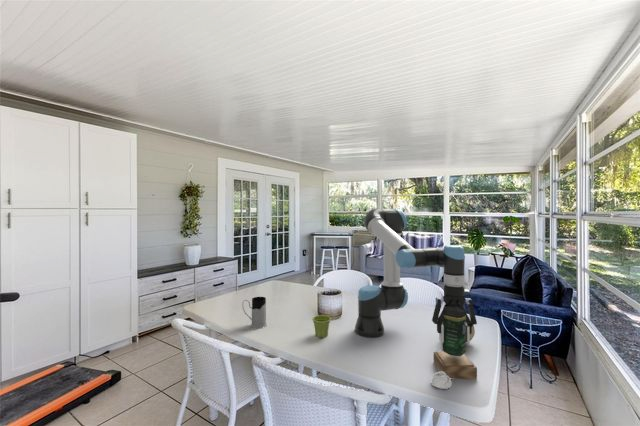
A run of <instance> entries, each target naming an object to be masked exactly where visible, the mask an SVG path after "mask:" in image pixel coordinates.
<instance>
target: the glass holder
mask: <svg viewBox="0 0 640 426" xmlns="http://www.w3.org/2000/svg"><path fill="white" fill-rule="evenodd" d="M266 301H267V298H266V297H265V296H255V297H252V298H251V303H250V300H248V299H244V300H243V301H242V304H241V306H242V310H243V312H244V314H245V315H246V316H247V317H248V318H249V319H250V320H251V325H250V327H251V328H252V329H255V328H260V329H264V328H266V327H267V325H268V324H267V303H266ZM244 302H248V307H249V309H251V316H250V315H248V313H247V312H246V310H245V307H244ZM263 327H264V328H263Z"/></svg>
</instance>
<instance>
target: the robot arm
mask: <svg viewBox="0 0 640 426" xmlns="http://www.w3.org/2000/svg"><path fill="white" fill-rule="evenodd" d="M363 225H364V228H365V229H366V230H367V231H368V232H369V233H370V234H371V235H374V236H375V237H376V238H378V240H379V241H380V242H381V243H382V244H383V250H382V251H383V252H382V253H383V281H381V283H380V286H379V285H376V284H373V285H372V284H370V285H364V286H362V287H360V289H359V290H358V295H357V300H358V301H357V302H358V304H357V306H358V307H357V308H358V309H357V311H358V312H357V313H358V314H357V315H358V317H357V319H356V323H355V326H354V331H355V332H354V333H356V334H357V335H359V336H361V337H366V338H377V337H382V336H383V335H384V334H385V327H384V324H383V320H382V317H381V314H382V313H381V312H382V311H390V310H399V309H403V308H404V307H405V306H406V305H407V304H408V300H409V294H408V293H409V292H407V291H408V290H407V288H406V287H405V286H404V284H403V282H402V281H401V269H403V268H404V269H406V268H407V269H411V268H424V267H440V268H443V284H444V285H443V297H435V306H434V309H433V314H432V319H431V321H432V322H433V324H435V325H436V332H437V333H438V334H439V335H438V339H439V341H440V342H441V343H442V344H443V343H444V326H443V325H442V323H443V321H444V314H443V309H442V308H441V307H442V304H443V302H444V305H443V308H444V307H446V306H448V307H451V306H458V307H460V308H462V309H464V307H465V306H464V304H466V307H467V311H468V314H469V315H468V314H467V312H466V323H467V324H466V342H467V343H466V344H470V341H469V334H471V333H472V327H473V325H474V326H476V325H477V324H478V322H477V317H476V313H475V310H474V305H473V304H474V300H473V299H471V298H470V297H468V298H467V297H465V295H466V293H465V292H466V291H465V286H464V285H465V283H466V282H465V279H466V278H465V261H466V259H465V258H466V256H465V254H466V253H465V249H464V247H463V246H461V245H456V244H453V245H452V244H447V245H444V246H443V248H440V247H439V248H438V247H434V246H432V247H431V246H428V247H425V248H414V247H413V246H411V244H409V243H408V242H407V241H406V240H404V239H403V238H402V237H401V236H402V235H403V230H405V229H406V227H407V225H408V221H407V217H406V214H405V213H404V211H403V210H402V209H399V208H374V209H371V210H369V211H368V212H367V213H366V214H365V217H364V219H363ZM463 306H464V307H463ZM441 309H442V310H441ZM464 310H465V309H464ZM469 318H470V319H471V321H470V319H469Z"/></svg>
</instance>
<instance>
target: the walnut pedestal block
mask: <svg viewBox="0 0 640 426" xmlns="http://www.w3.org/2000/svg"><path fill="white" fill-rule="evenodd" d="M433 364H434V366H435V367H436V366H437V367H436V368H437V370H438V369H439V370H438V372H439V371H443V372H445V373H446V375H447V376H449V378H454V379H453V380H478V368H477V366H476V365H475V364H474V363H473V361H471V360H470V358H469V357H468V356H467V355H466V354H465V353H464V354H463V355H462V356H452V355H449V354H447V353H445V352H444V351H438V350H437V351H433ZM447 378H448V377H447Z"/></svg>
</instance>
